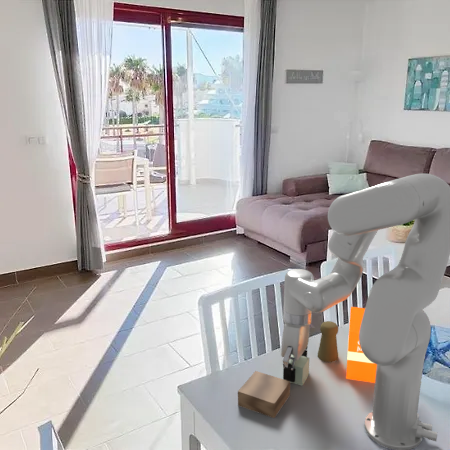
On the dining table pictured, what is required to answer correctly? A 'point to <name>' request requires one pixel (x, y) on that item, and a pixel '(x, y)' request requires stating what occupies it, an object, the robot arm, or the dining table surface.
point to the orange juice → (358, 351)
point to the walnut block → (264, 394)
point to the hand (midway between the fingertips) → (295, 370)
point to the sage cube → (301, 369)
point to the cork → (328, 342)
